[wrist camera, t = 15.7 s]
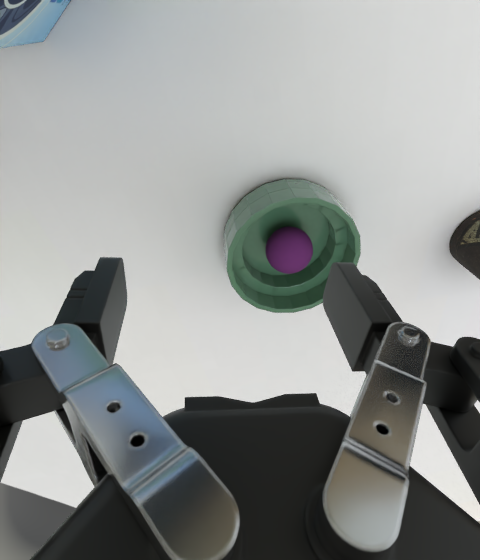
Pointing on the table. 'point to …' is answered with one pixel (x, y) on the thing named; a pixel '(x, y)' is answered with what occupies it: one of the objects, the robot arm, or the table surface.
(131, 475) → the robot arm
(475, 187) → the table surface
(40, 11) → the gum box
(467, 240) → the container
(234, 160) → the table surface
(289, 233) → the ball
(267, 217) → the bowl
